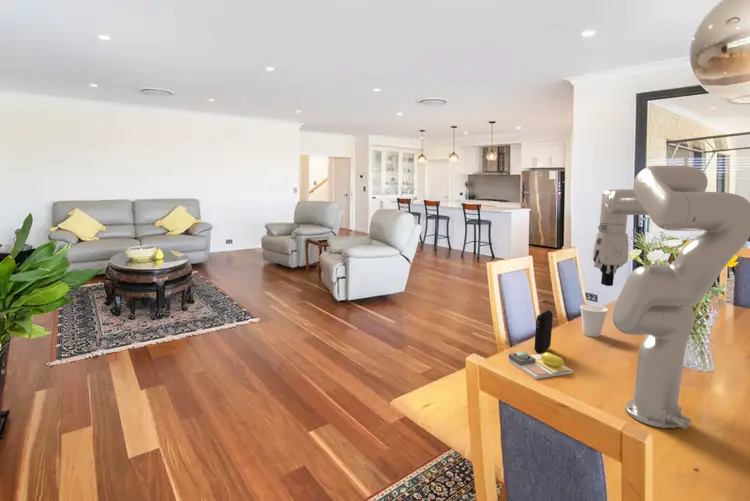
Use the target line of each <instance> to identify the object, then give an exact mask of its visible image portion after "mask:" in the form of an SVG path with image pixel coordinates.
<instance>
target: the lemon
mask: <svg viewBox="0 0 750 501" xmlns="http://www.w3.org/2000/svg"><path fill="white" fill-rule="evenodd" d="M541 354H542V355H541V359H542V361H543V362H545V363H546V364H548V365H550V366H553V367H560V366H563V365H564V366H565V360H564V359H563V358H562V357H560V356H558V355H555V354H554V353H552V352H548V351H546V352H542V353H541Z"/></svg>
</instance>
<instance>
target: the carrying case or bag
mask: <svg viewBox="0 0 750 501" xmlns="http://www.w3.org/2000/svg"><path fill="white" fill-rule="evenodd" d="M553 317H554V316H553V313H552V311H551V310H549V309H547V310H544V311H543V312H541V313H539V314H538V315H537V316H536V321H535V332H534V333H535V336H534V347H533V348H534V351H535V352H536V354H543V353H545V351H547V350H548V349H550V347H551V342H552V330H553V329H552V328H553V320H554V318H553Z"/></svg>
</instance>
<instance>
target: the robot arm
mask: <svg viewBox="0 0 750 501" xmlns="http://www.w3.org/2000/svg"><path fill="white" fill-rule="evenodd" d="M707 187H708V177H707V175H706V174H705V173H704V171H702V170H701V169H699V168H697V167H696V166H689V165H650V166H647V167H645V168H643V169H641V170H640V171H639V172H638V173H637V175H635V178H634V181H633V187H632V189H619V188H618V189H606V190H604V191H603V192H602V195H601V204H600V205H601V206H600V216H599V225H598V227H597V229H598V232H597V234H596V238H595V242H594V247H593V255H592V260H593V262H594V265H593V267H594V268H596V269H599V271H600V273H601V279H600V280H601V283H600V284H601V285H602V286H603V285H604V286H605V287H612V286H614V279H615V278H614V277H615V274H616V272H617V270H618V269H619V268H622V267H624V265H625V264H627V263H628V260H629V237H628V232H627V224H628V216H630V215H631V216H648V217H649V218H650V219H651V221H652V222H653V223H654V224H655V225H656V226H657V227H658V228H661V230H662V229H663V230H666V231H675V232H676V231H678V232H679V231H680V232H681V231H683V232H702V234H700V235H698V236H697V237H695V238H694V239H692V240H691V241H689V242H688V243H687V244H686V245H684V246H683V247H682V248H681V250H679V253H678V255H677V257H676V258H675V260H674V261H673V262H672V263H670V264H666V265H659V264H657V265H655V264H652V265H651V264H650V265H649V264H648V265H642V266H638V267H636V268H635V269H633V270H632V271H631V272H630V273H629V275H628V277H627V279H626V281H625V283H624V285H623V286H622V289H621V291H620V293H619V295H618V297H617V299H616V301H615V304H614V306H613V310H612V322H613V325H614V327H615V328H616V329H617V330H618V331H619V332H620V333H622V334H625V335H631V336H632V335H634V336H635V335H636V336H645V338H644V339H643V340H642V342H641V343H640V346H639V352H638V356H637V357H638V359H637V367H636V375H635V382H634V383H635V384H634V391H633V392H634V393H633V399H632V400H628V401H627V402H626V404H625V411H626V412H627V414H629V416H631V417H632V418H633V419H635V420H637V421H638V422H640V423H643V424H645V425H648V426H651V427H656V428H659V427H660V429H667V428H672V429H677V428H676V427H678V428H682V429H684V430H686V429H688V428H689V426H690V424H691V421H692V420H691V418H690V417H688V416H686V415H684V414H683V413H682V410H683V407H682V406H680V405H679V399H680V393H681V392H680V391H681V382H682V376H683V369H684V368H683V367H684V363H685V362H684V361H685V355H686V354H685V353H686V348H687V344H688V341H689V337H690V335H691V333H692V331H693V327H694V326H695V313H694V312H695V311H694V309H693V307H692V306H695V305H697V304H699V303H701V301H703V299H704V298H705V296H706V295H707V294H708V292H709V291H710V290H711V288H712V286H713V285H714V283H715V282H716V281H717V279H718V277H719V276H720V275H721V273H722V272H723V270H724V269H725V267H726V266H727V265H728V263H730V261H731V260H732V259H733V258H734V257H735V256H736V255H737V254H738V253H739V252H740V251H741V250H742V248H743V247H744V246H745V245H746V243H747V242H748V240H749V238H750V201H749V200H748V199H746V198H745V197H744V196H742V195H739V194H736V193H730V192H724V191H721V192H720V191H705V190H707ZM679 426H680V427H679Z"/></svg>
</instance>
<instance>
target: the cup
mask: <svg viewBox="0 0 750 501" xmlns="http://www.w3.org/2000/svg"><path fill="white" fill-rule="evenodd" d="M579 307H580V315H581V325H582V326H581V327H582V334H583V335H585V336H587V337H591V338H598V337H600V336H601V333H602V330H603V326H604V323H605V320H606V316H607V313H608V311H609V309H608V308H606V307H605V306H601V305H597V304H596V305H595V304H581V305H580V306H579Z"/></svg>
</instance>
